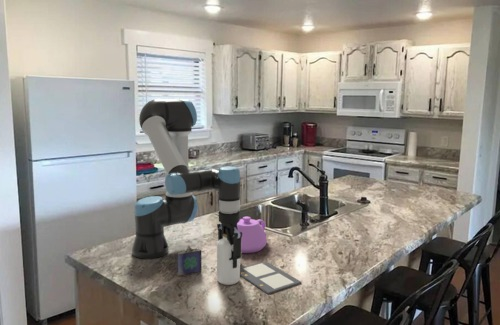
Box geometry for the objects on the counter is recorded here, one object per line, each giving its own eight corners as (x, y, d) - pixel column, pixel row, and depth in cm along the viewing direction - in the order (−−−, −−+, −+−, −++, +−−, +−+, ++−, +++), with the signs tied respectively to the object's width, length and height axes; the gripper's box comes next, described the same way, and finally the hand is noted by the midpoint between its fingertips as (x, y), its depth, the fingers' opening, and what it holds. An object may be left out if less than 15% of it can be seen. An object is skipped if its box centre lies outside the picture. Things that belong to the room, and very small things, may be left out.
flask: (179, 277, 153) (178, 249, 151) (176, 274, 156) (176, 247, 154) (202, 272, 157) (202, 245, 156) (199, 269, 160) (199, 243, 158)
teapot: (252, 236, 198) (252, 208, 195) (278, 246, 185) (279, 217, 182) (209, 248, 182) (209, 218, 179) (235, 260, 168) (235, 228, 166)
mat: (267, 294, 141) (267, 292, 140) (233, 271, 159) (233, 269, 158) (301, 283, 149) (301, 281, 149) (265, 262, 167) (265, 261, 167)
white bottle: (216, 276, 154) (216, 230, 151) (238, 275, 155) (239, 229, 152) (217, 286, 146) (217, 237, 143) (240, 285, 147) (241, 237, 144)
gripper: (251, 215, 140) (251, 279, 144) (225, 203, 155) (226, 262, 158) (233, 218, 136) (233, 284, 140) (208, 206, 150) (208, 267, 154)
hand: (229, 273), depth 149 cm, fingers open, 4 cm apart
